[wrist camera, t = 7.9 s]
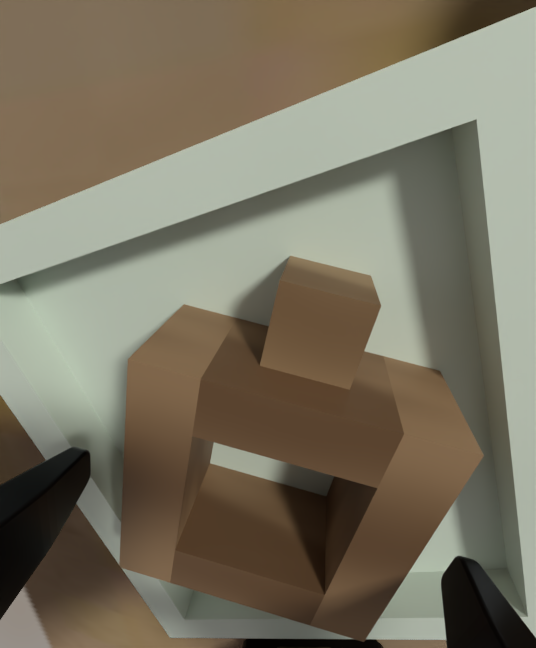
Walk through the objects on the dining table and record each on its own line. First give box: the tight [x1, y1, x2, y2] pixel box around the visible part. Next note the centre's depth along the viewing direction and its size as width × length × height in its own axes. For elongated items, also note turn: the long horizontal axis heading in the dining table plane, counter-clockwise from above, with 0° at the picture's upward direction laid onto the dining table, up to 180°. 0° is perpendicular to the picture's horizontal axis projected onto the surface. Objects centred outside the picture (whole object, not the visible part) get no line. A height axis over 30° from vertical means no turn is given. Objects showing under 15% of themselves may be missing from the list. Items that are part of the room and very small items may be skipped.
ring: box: [119, 256, 484, 642], centre depth 9 cm, size 9×7×3 cm
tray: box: [0, 7, 536, 640], centre depth 11 cm, size 16×14×2 cm
